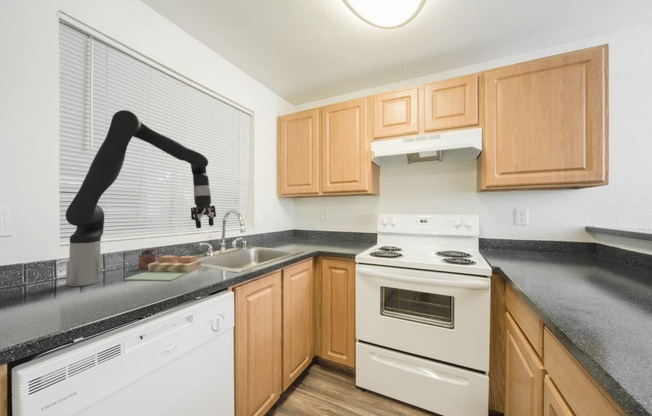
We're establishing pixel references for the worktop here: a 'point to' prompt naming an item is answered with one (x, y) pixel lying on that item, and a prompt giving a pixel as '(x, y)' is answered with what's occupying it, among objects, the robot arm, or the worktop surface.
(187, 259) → the tile
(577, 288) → the worktop surface
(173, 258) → the tile
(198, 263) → the wooden tray
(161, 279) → the mat
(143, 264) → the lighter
